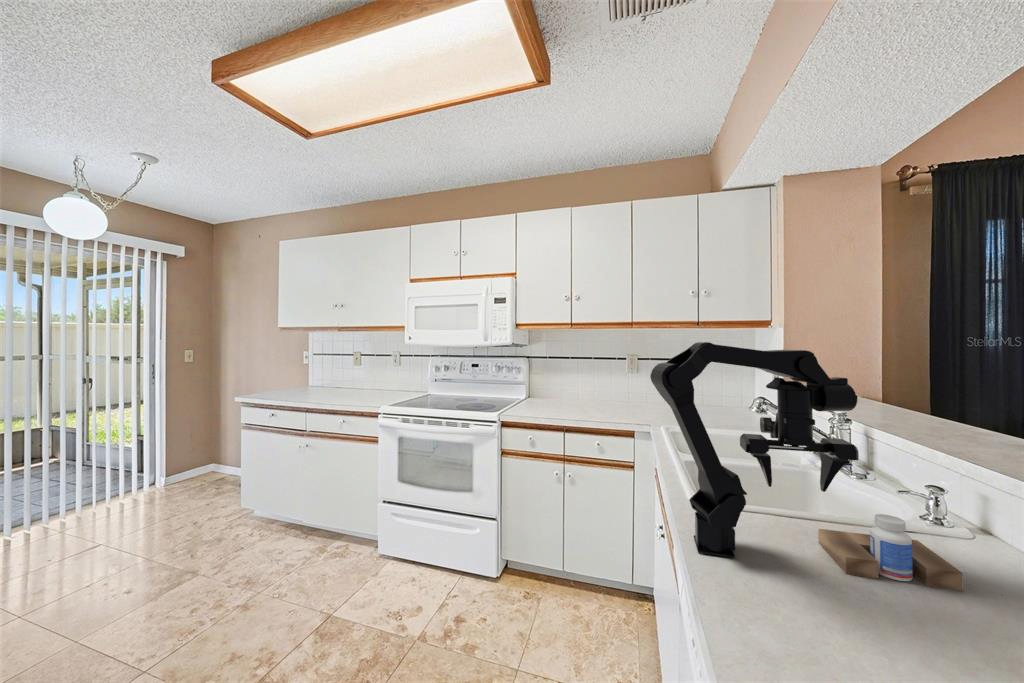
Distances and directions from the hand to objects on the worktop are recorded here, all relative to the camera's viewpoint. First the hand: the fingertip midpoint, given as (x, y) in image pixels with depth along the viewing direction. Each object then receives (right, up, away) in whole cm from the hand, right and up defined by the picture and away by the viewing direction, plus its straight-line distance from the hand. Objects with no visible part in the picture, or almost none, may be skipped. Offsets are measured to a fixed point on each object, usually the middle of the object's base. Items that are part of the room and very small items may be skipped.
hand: (795, 488), depth 78 cm
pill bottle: (+11, -12, -9) cm, 18 cm away
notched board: (+12, -12, -6) cm, 18 cm away
